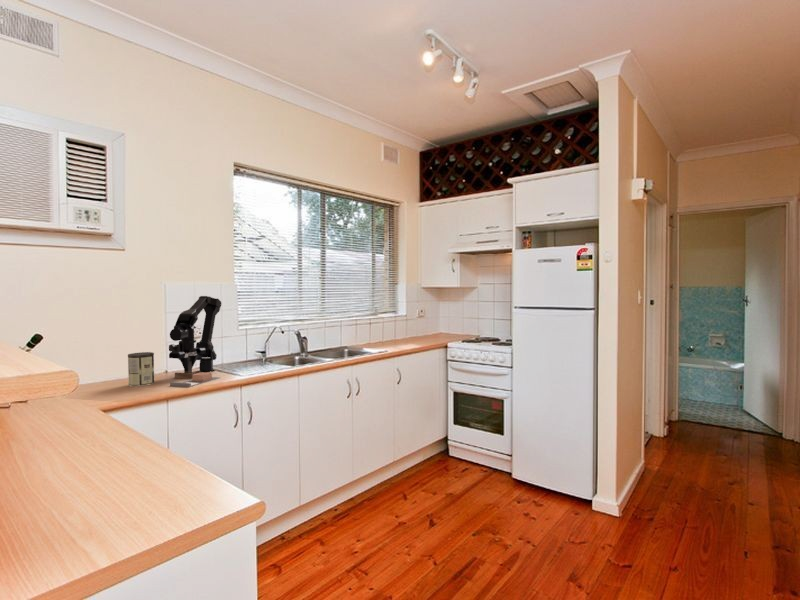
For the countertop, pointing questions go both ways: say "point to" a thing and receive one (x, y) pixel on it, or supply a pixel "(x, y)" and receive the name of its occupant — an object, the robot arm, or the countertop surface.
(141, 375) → the coffee can
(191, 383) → the gray ledged slab
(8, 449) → the countertop surface
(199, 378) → the tile
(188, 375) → the beige ledged slab
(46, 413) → the countertop surface
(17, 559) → the countertop surface
